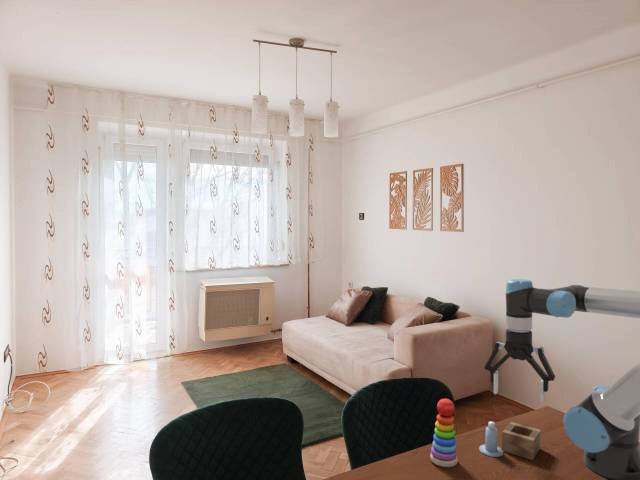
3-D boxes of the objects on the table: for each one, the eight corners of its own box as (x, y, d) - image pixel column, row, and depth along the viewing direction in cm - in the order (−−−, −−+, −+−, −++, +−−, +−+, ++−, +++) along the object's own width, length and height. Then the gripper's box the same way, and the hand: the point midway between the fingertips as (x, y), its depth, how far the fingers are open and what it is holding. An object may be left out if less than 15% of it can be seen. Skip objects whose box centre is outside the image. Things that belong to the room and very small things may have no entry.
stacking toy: (459, 470, 133) (460, 406, 132) (430, 466, 135) (431, 404, 134) (456, 456, 141) (457, 395, 140) (429, 453, 142) (430, 393, 141)
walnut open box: (540, 448, 146) (540, 429, 145) (532, 460, 139) (533, 440, 138) (510, 439, 151) (511, 421, 151) (501, 450, 144) (502, 431, 144)
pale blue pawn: (506, 450, 144) (507, 422, 144) (499, 459, 139) (499, 430, 138) (483, 443, 149) (484, 415, 148) (475, 451, 143) (476, 423, 143)
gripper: (565, 332, 139) (565, 401, 140) (481, 322, 154) (481, 385, 154) (562, 337, 133) (561, 409, 134) (474, 326, 147) (474, 392, 148)
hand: (518, 397), depth 144 cm, fingers open, 13 cm apart
